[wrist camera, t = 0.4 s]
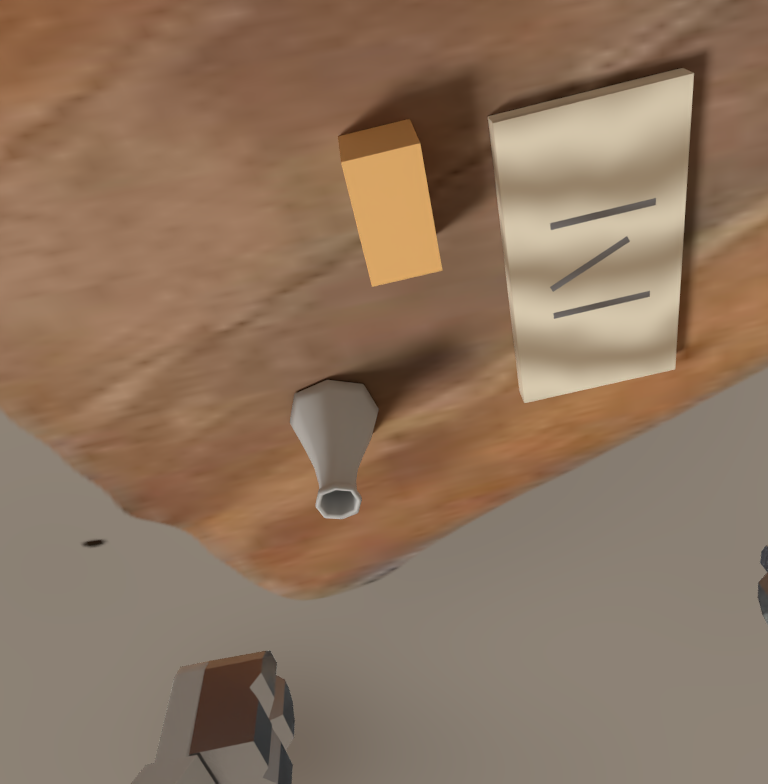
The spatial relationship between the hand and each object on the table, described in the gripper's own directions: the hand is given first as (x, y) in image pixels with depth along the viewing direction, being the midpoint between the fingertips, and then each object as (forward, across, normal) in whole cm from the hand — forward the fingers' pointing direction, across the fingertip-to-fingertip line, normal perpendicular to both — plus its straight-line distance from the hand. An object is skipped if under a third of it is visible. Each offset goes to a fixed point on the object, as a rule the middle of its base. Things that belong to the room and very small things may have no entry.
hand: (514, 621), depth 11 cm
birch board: (+37, -13, +10) cm, 41 cm away
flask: (+39, +8, +19) cm, 44 cm away
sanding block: (+37, 0, +2) cm, 37 cm away
